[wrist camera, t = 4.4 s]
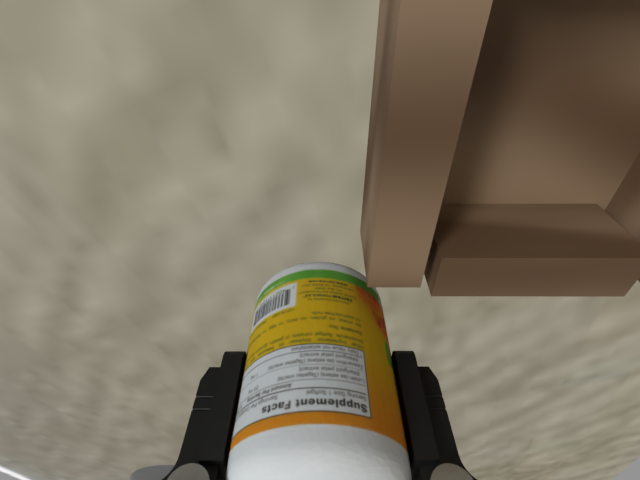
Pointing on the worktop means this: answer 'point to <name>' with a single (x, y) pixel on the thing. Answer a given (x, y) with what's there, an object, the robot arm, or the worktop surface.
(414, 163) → the socket block
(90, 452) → the worktop surface
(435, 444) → the robot arm
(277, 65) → the worktop surface
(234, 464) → the supplement bottle
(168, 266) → the worktop surface
